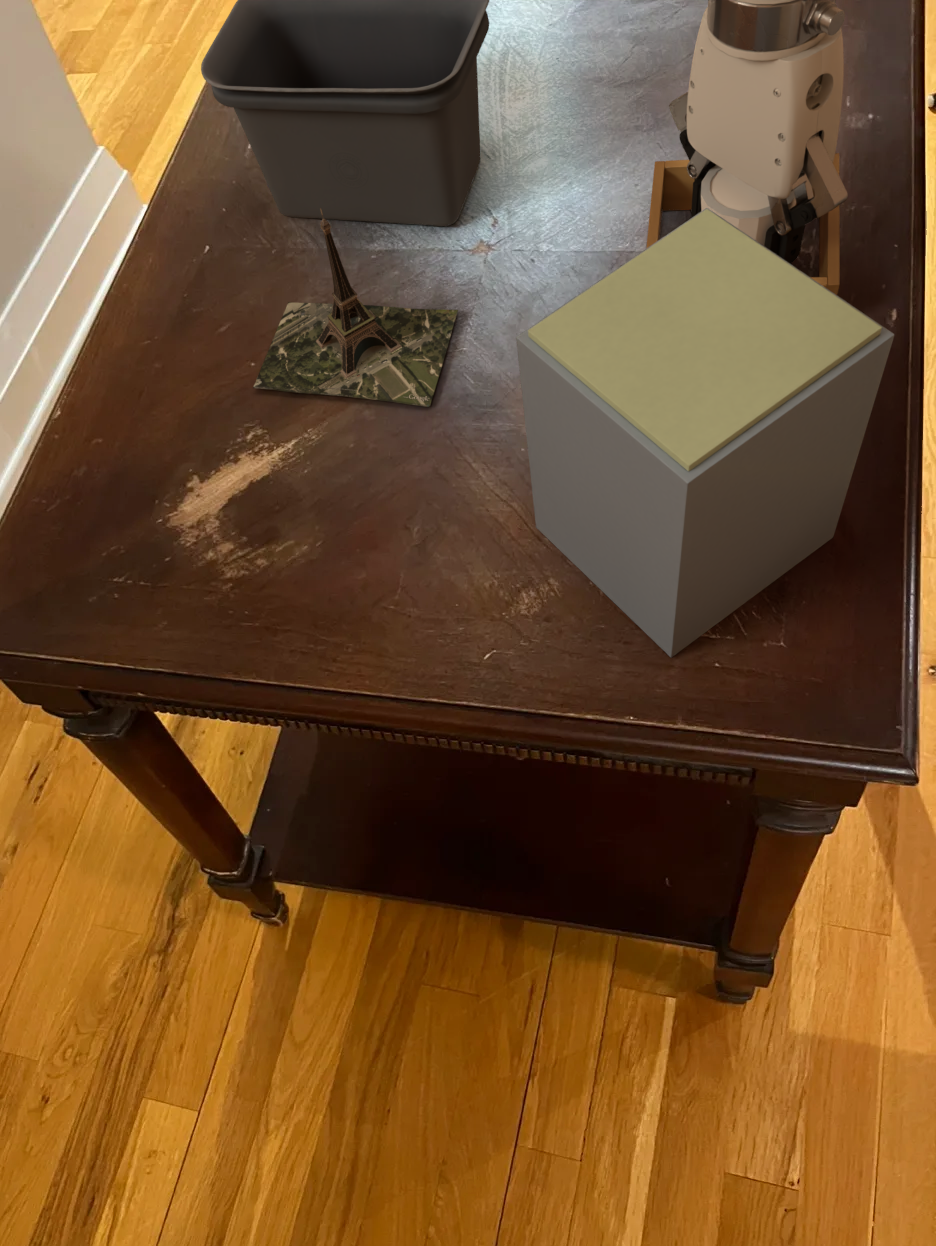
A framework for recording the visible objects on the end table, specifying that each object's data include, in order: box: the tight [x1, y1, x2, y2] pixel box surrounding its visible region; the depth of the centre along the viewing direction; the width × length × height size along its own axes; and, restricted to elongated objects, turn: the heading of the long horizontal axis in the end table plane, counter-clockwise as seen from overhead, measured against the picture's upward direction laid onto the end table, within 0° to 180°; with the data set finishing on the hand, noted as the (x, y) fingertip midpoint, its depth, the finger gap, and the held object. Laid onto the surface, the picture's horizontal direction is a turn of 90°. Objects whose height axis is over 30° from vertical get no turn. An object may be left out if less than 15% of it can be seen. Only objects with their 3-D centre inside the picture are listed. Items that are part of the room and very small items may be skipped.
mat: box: [528, 209, 882, 471], centre depth 59 cm, size 13×13×1 cm
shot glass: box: [701, 165, 796, 246], centre depth 81 cm, size 7×7×7 cm
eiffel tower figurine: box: [252, 208, 459, 408], centre depth 82 cm, size 15×10×13 cm
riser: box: [515, 208, 895, 658], centre depth 67 cm, size 14×14×18 cm
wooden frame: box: [645, 152, 841, 296], centre depth 83 cm, size 14×14×4 cm
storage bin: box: [200, 0, 490, 227], centre depth 90 cm, size 21×16×14 cm
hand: (743, 240), depth 82 cm, fingers closed on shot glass, 6 cm apart
